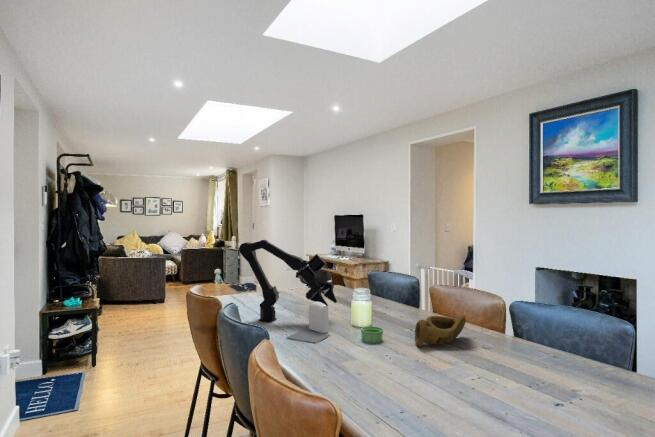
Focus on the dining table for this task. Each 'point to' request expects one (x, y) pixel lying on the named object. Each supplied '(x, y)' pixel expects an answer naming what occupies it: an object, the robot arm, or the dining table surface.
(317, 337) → the mat
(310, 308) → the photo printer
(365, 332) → the ramekin
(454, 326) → the brown looped sculpture
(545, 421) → the dining table surface
